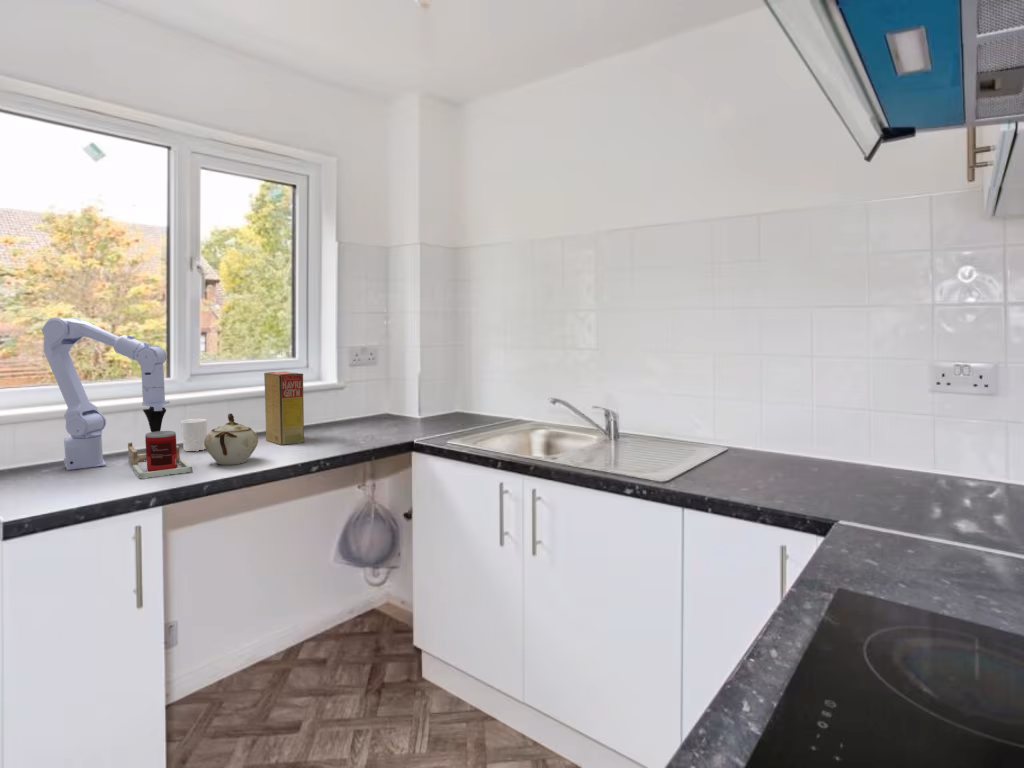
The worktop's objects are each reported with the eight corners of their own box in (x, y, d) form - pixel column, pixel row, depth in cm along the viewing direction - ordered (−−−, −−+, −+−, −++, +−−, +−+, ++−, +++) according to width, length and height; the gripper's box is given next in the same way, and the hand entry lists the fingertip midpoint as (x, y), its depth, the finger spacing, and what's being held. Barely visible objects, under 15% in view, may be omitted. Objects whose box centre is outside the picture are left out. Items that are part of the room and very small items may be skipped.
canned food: (166, 466, 182) (164, 429, 181) (183, 469, 178) (181, 432, 177) (140, 471, 175) (138, 433, 174) (158, 475, 171) (156, 436, 170)
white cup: (188, 453, 200) (187, 423, 199) (177, 450, 205) (176, 420, 204) (212, 449, 206) (211, 420, 205) (201, 446, 211) (200, 418, 210)
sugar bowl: (217, 456, 196) (215, 409, 195) (265, 454, 199) (264, 409, 197) (195, 470, 177) (192, 419, 175) (249, 468, 179) (247, 418, 178)
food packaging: (306, 442, 220) (304, 373, 218) (280, 445, 213) (278, 374, 211) (289, 437, 229) (287, 371, 227) (264, 440, 223) (262, 372, 220)
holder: (134, 468, 178) (133, 448, 178) (129, 462, 187) (127, 442, 186) (180, 463, 186) (179, 443, 185) (173, 457, 194) (172, 438, 194)
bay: (139, 479, 166) (139, 473, 166) (133, 470, 176) (132, 465, 176) (192, 472, 174) (192, 467, 174) (183, 464, 185) (183, 459, 184)
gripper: (173, 388, 178) (175, 434, 179) (164, 384, 189) (166, 427, 191) (145, 389, 174) (147, 436, 175) (138, 385, 185) (140, 430, 186)
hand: (155, 432), depth 183 cm, fingers closed
